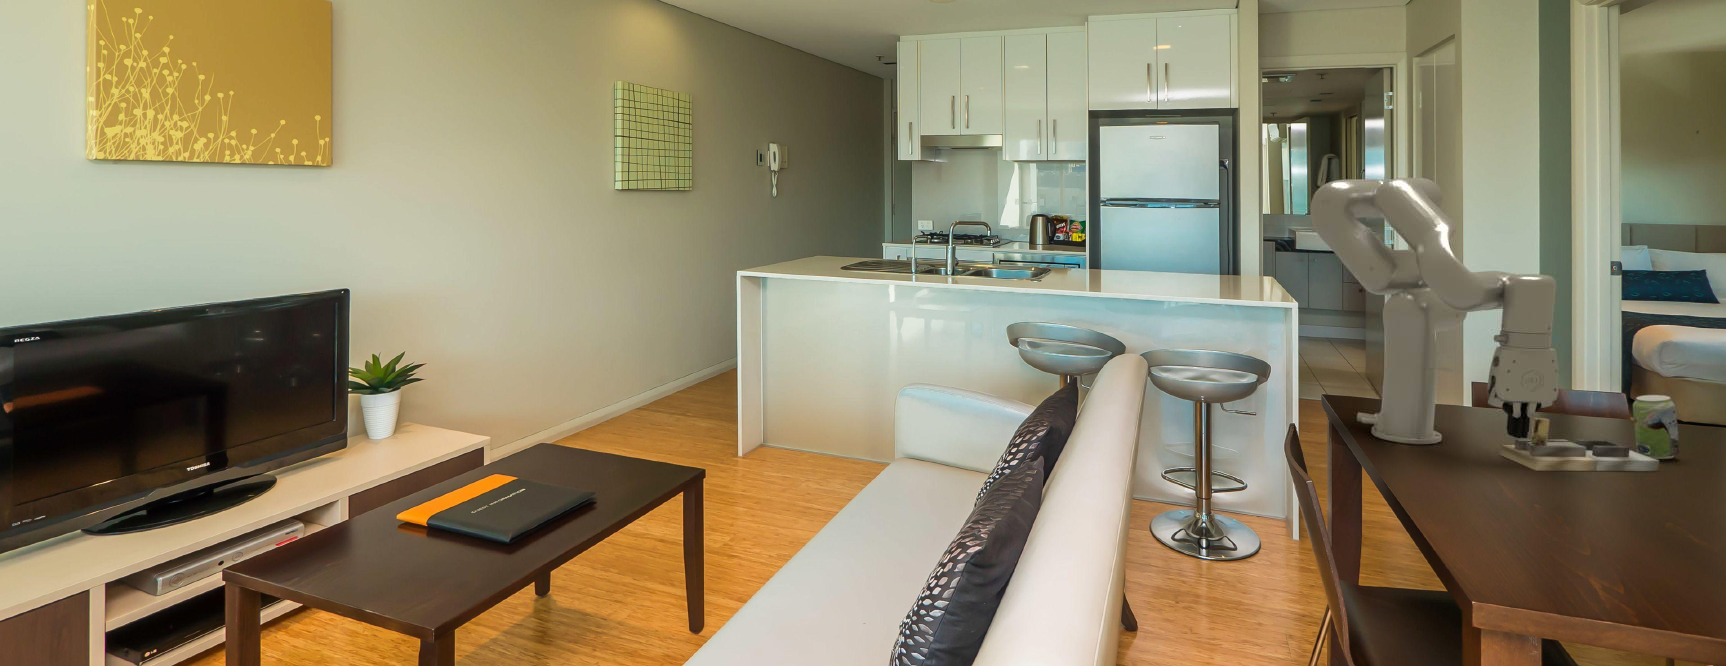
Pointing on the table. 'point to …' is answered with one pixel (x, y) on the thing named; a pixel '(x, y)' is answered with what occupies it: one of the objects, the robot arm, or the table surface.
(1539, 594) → the table surface
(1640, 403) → the beverage can
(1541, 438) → the bolt
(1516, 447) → the lock board
